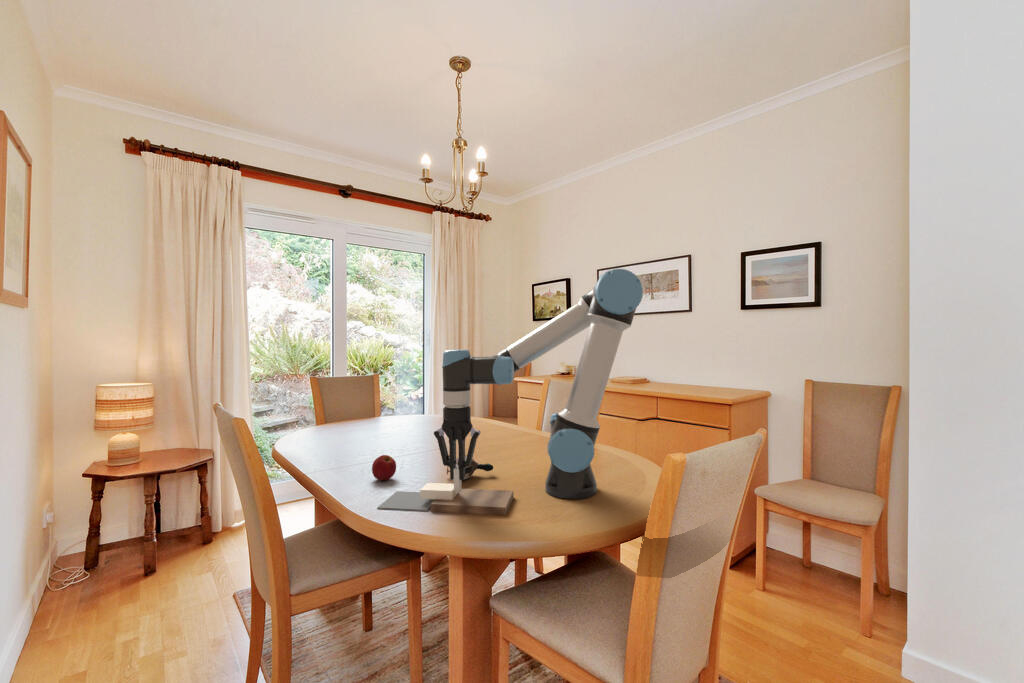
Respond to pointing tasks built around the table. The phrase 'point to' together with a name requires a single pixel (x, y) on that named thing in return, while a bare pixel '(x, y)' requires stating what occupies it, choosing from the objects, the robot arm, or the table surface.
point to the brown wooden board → (476, 502)
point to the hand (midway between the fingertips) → (457, 491)
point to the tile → (438, 491)
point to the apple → (384, 467)
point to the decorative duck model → (473, 467)
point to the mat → (406, 502)
